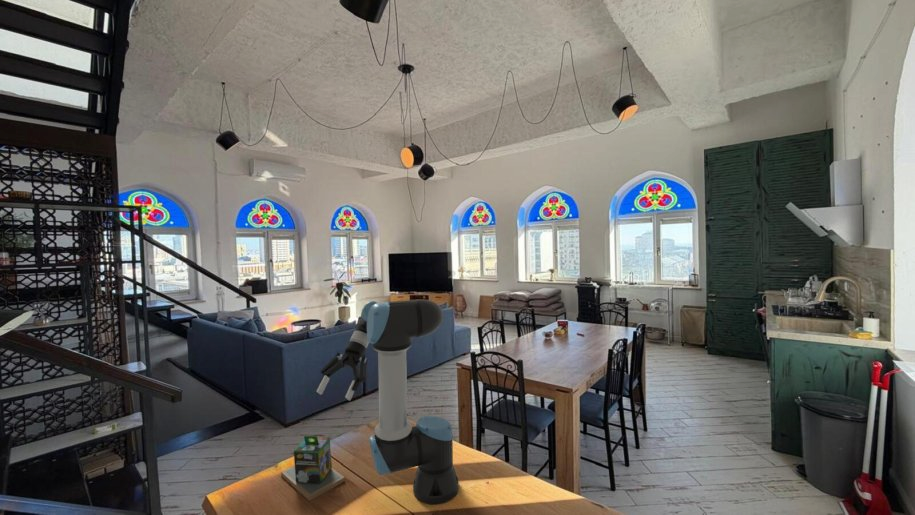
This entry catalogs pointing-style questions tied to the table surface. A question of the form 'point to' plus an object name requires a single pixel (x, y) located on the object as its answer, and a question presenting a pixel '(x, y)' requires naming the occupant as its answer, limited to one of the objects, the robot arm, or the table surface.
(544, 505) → the table surface
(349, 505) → the table surface
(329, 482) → the slate board
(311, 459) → the chalk box
